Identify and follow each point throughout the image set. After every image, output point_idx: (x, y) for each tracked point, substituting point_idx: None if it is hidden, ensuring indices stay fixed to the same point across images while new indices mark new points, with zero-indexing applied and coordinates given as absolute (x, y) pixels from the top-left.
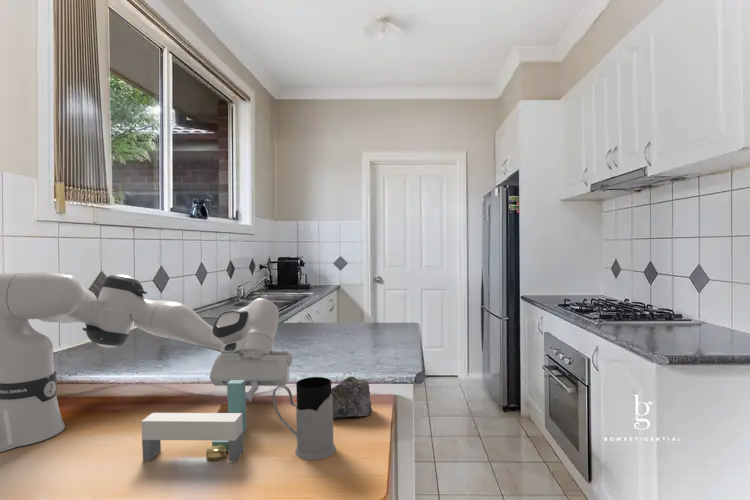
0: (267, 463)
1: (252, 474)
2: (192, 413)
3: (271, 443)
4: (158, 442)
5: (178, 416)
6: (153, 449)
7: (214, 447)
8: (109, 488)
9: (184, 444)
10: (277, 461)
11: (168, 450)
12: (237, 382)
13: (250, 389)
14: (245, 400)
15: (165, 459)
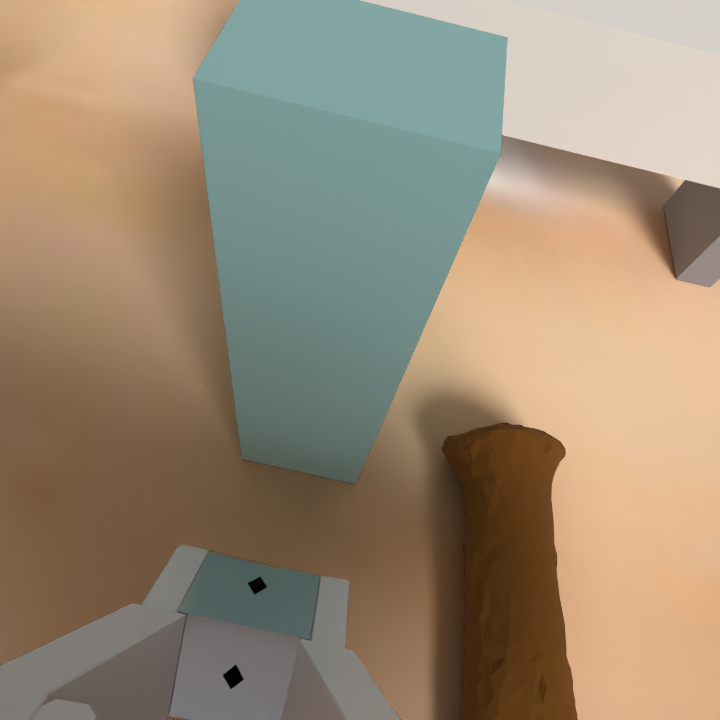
0: (133, 71)
1: (201, 31)
2: (612, 23)
3: (82, 217)
4: (710, 226)
5: (681, 14)
6: (692, 200)
7: None
8: None
9: (593, 319)
10: (84, 72)
11: (640, 276)
12: (333, 21)
13: (132, 638)
14: (227, 320)
15: (602, 203)
